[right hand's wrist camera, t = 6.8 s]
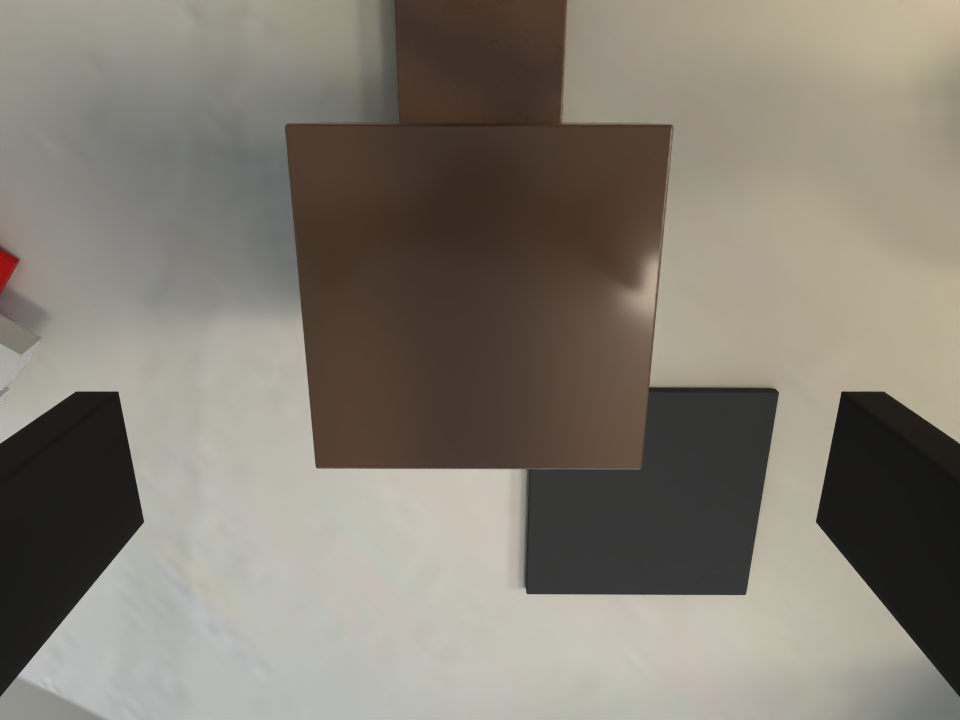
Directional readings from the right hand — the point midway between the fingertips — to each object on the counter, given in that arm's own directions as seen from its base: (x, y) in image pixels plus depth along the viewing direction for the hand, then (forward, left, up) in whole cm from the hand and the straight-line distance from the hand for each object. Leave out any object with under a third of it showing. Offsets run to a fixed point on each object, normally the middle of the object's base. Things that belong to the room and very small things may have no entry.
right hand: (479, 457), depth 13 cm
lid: (0, 0, -14) cm, 14 cm away
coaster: (-10, +16, -25) cm, 31 cm away
